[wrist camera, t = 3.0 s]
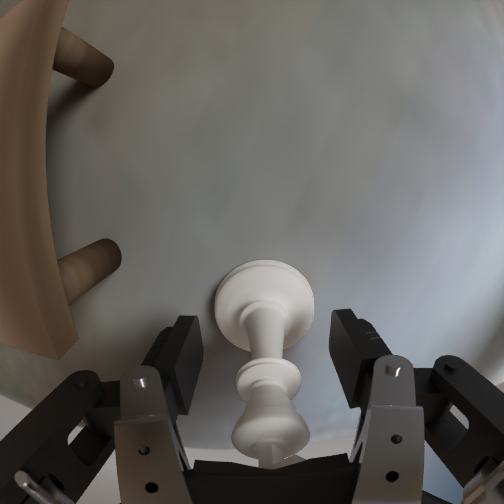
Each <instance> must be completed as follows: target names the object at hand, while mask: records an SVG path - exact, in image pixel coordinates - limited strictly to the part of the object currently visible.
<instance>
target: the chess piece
mask: <svg viewBox="0 0 504 504" xmlns="http://www.w3.org/2000/svg"><path fill="white" fill-rule="evenodd" d="M214 307H215V308H214V311H215V319H216V322H217V325H218V327H219V329H220V331H221V332H222V334H223V335H224V336H225V337H226V339H227V340H229V341H230V342H231V343H232V344H234V345H235V346H237V347H239V348H241V349H243V350H245V351H249V352H251V357H252V360H251V361H249V362H248V363H246V364H245V365H243V366H242V367H241V368H240V369H239V371H238V372H237V374H236V377H235V386H236V389H237V392H238V394H239V395H240V397H241V398H242V399H243V400H245V401H246V402H248V403H247V405H246V408H245V411H244V412H243V414H242V416H241V417H240V418H239V420H238V422H237V423H236V425H235V427H234V430H233V432H232V443H233V445H234V447H235V448H236V449H237V450H238V451H239V452H241V453H242V454H244V455H246V456H248V457H251V458H255V459H259V468H264V469H277V468H281V467H284V466H288V465H291V464H295V463H298V462H301V461H305V460H306V459H303V458H301V457H299V456H297V455H294V454H295V453H297V452H299V451H300V450H302V449H303V448H304V447H305V446H306V444H307V443H308V441H309V438H310V432H309V429H308V426H307V424H306V423H305V421H304V420H303V418H302V417H301V415H300V414H299V413H298V412H297V411H296V409H295V408H294V406H293V404H292V402H291V400H292V399H293V398H294V397H295V396H296V395H297V393H298V391H299V389H300V385H301V374H300V371H299V370H298V368H297V367H296V366H295V365H294V364H293V363H291V362H289V361H287V360H285V359H282V353H283V350H285V349H287V348H289V347H291V346H292V345H294V344H295V343H297V342H298V341H299V340H300V339H301V338H302V337H303V336H304V335H305V334H306V332H307V331H308V329H309V328H310V326H311V323H312V320H313V317H314V298H313V293H312V290H311V287H310V285H309V283H308V282H307V280H306V279H305V278H304V276H303V275H302V274H301V273H300V272H299V271H297V270H296V269H295V268H293V267H291V266H289V265H287V264H285V263H282V262H279V261H274V260H256V261H251V262H248V263H245V264H243V265H240V266H238V267H237V268H235V269H234V270H232V271H231V272H230V273H229V274H228V275H227V276H226V277H225V278H224V279H223V280H222V282H221V283H220V285H219V287H218V289H217V292H216V296H215V303H214ZM291 455H293V456H291ZM289 456H291V457H289ZM286 457H288V458H286ZM284 458H286V459H284Z"/></svg>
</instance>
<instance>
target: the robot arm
mask: <svg viewBox="0 0 504 504" xmlns="http://www.w3.org/2000/svg"><path fill="white" fill-rule="evenodd" d="M329 351H330V356H331V358H332V361H333V364H334V366H335V369H336V372H337V374H338V377H339V380H340V383H341V385H342V388H343V391H344V393H345V396H346V399H347V402H348V405H349V407H350V409H351V408H356V407H360V409H361V414H360V417H359V422H358V427H357V431H356V436H355V440H354V445H353V449H352V453H351V457H350V460H349V459H348V455H347V453H344V454H339V455H332V456H326V457H319V458H311V459H308V460H305V461H301V462H298V463H295V464H291V465H288V466H284V467H281V468H277V469H264V468H258V467H253V466H247V465H242V464H238V463H233V462H217V461H202V460H195V462H194V467H193V469H191V468H190V465H189V463H188V459H187V456H186V454H185V450H184V447H183V444H182V440H181V437H180V433H179V430H178V426H177V424H176V420H177V416H178V414H179V415H188V412H189V409H190V405H191V401H192V397H193V394H194V390H195V386H196V383H197V379H198V375H199V372H200V368H201V365H202V361H203V344H202V338H201V332H200V325H199V320H198V317H197V316H179V317H178V319H177V321H176V323H175V325H174V326H173V327H167V328H165V329H164V330H163V331H161V332H160V333H159V335H158V336H157V338H156V340H155V342H154V343H153V345H152V347H151V348H150V350H149V352H148V354H147V355H146V357H145V359H144V361H143V362H142V364H141V366H135V367H132V368H130V369H128V370H127V371H125V372H124V373H123V374H122V376H121V378H120V380H119V381H109V382H100V379H99V377H98V375H97V374H96V373H95V372H93V371H89V370H82V371H78V372H75V373H73V374H71V375H70V376H69V377H67V378H66V379H65V380H64V381H63V382H62V383H61V384H60V385H59V386H58V387H57V388H55V389H54V390H53V391H52V392H51V393H50V394H49V395H48V396H47V397H46V398H45V399H44V400H43V401H42V402H40V403H39V404H38V405H37V406H36V407H35V408H34V409H33V410H32V411H31V412H30V413H29V414H28V415H27V416H26V417H25V418H24V419H23V420H22V421H21V422H20V423H19V424H18V425H16V426H15V427H14V428H13V429H12V430H11V431H10V432H9V433H8V434H7V435H6V436H5V437H4V438H3V439H2V440H1V441H0V504H76V502H77V501H78V500H79V498H80V497H81V496H82V494H83V493H84V491H85V490H86V489H87V487H88V486H89V485H90V483H91V482H92V480H93V479H94V478H95V476H96V475H97V473H98V472H99V471H100V469H101V468H102V466H103V465H104V464H105V462H106V461H107V459H108V458H109V456H110V455H111V454H112V452H113V451H114V449H115V451H116V465H117V474H118V483H119V490H120V497H121V503H120V504H452V503H450V502H447V501H445V500H443V499H441V498H438V497H436V496H434V495H432V494H430V493H428V492H426V491H424V490H422V487H423V474H424V439H425V440H426V442H427V443H428V444H429V446H430V447H431V448H432V449H433V451H434V452H435V453H436V454H437V455H438V457H439V458H440V459H441V461H442V462H443V463H444V464H445V465H446V467H447V468H448V469H449V471H450V472H451V473H452V474H453V476H454V477H455V478H456V479H457V481H458V482H459V483H460V485H461V486H462V487H463V488H464V490H463V499H462V501H461V504H504V393H503V392H502V391H500V390H499V389H498V388H497V387H496V386H494V385H493V384H492V383H491V382H490V381H488V380H487V379H486V378H485V377H484V376H482V375H481V374H480V373H479V372H477V371H476V370H475V369H474V368H472V367H471V366H470V365H469V364H467V363H466V362H465V361H464V360H462V359H461V358H459V357H456V356H451V355H445V356H441V357H439V358H438V359H437V360H436V361H435V363H434V366H433V368H413V365H412V363H411V362H410V361H409V360H408V359H406V358H404V357H402V356H398V355H393V354H392V353H391V351H390V350H389V348H388V347H387V345H386V344H385V343H384V341H383V340H382V338H380V335H379V334H378V333H377V332H376V330H375V328H374V327H373V326H372V324H371V323H369V322H367V321H366V320H364V319H357V317H356V316H355V314H354V313H353V311H352V310H351V309H340V310H333V311H332V316H331V327H330V337H329ZM453 404H454V405H455V406H456V407H457V408H458V409H459V410H460V411H461V412H462V413H463V414H464V415H465V416H466V417H467V419H468V421H469V428H468V430H467V429H466V428H465V427H464V426H463V425H462V423H461V422H460V421H458V419H457V418H456V417H455V416H454V415H453V414H452V413H451V412H450V408H451V407H452V405H453ZM82 419H83V421H84V422H85V424H86V426H85V427H84V428H83V429H82V430H81V431H80V433H79V434H78V435H77V436H76V438H75V439H74V440H73V441H72V442H71V443H70V444H69V445H68V436H69V434H70V433H71V431H72V430H73V429H74V428H75V427H76V426H77V425H78V424H79V423H80V421H81V420H82Z"/></svg>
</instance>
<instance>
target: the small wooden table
mask: <svg viewBox="0 0 504 504" xmlns="http://www.w3.org/2000/svg"><path fill="white" fill-rule="evenodd" d="M68 3H69V0H23V1H22V2H21V3H19V4H18V5H17V6H16V7H14V8H13V9H12V10H10V11H9V12H8V13H7V14H5V15H4V16H3V17H2V18H1V19H0V343H2V344H5V345H8V346H11V347H14V348H17V349H20V350H24V351H27V352H30V353H34V354H38V355H41V356H45V357H49V358H53V359H57V360H59V359H60V358H61V357H62V356H63V355H64V354H65V352H66V351H67V350H68V349H69V348H70V347H71V346H72V345H73V344H74V343H75V342H76V341H77V340H78V339H79V337H78V334H77V332H76V329H75V326H74V323H73V319H72V316H71V313H70V310H69V305H70V304H71V303H73V302H74V301H75V300H76V299H78V298H79V297H80V296H82V295H83V294H84V293H86V292H87V291H88V290H90V289H91V288H92V287H94V286H95V285H96V284H98V283H99V282H100V281H102V280H103V279H104V278H106V277H107V276H108V275H110V274H111V273H112V272H114V271H115V270H117V269H118V268H119V266H120V264H121V260H122V256H121V251H120V249H119V247H118V246H117V244H116V243H115V242H114V241H112V240H110V239H101V240H99V241H96V242H94V243H92V244H90V245H88V246H86V247H84V248H81V249H79V250H77V251H75V252H73V253H71V254H69V255H67V256H65V257H63V258H61V259H59V260H57V257H56V252H55V247H54V241H53V235H52V229H51V221H50V213H49V204H48V194H47V179H46V120H47V106H48V96H49V87H50V80H51V73H52V69H53V70H55V71H57V72H60V73H62V74H64V75H67V76H69V77H71V78H74V79H76V80H78V81H80V82H82V83H85V84H87V85H89V86H91V87H98V86H100V85H102V84H104V83H105V82H106V81H107V80H108V79H109V78H110V76H111V75H112V72H113V69H114V63H113V61H112V60H111V59H110V58H108V57H107V56H105V55H104V54H103V53H101V52H100V51H98V50H97V49H95V48H94V47H93V46H91V45H90V44H88V43H87V42H85V41H84V40H82V39H81V38H79V37H78V36H76V35H75V34H73V33H71V32H70V31H68V30H67V29H65V28H64V27H62V23H63V19H64V16H65V12H66V9H67V6H68Z"/></svg>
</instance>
